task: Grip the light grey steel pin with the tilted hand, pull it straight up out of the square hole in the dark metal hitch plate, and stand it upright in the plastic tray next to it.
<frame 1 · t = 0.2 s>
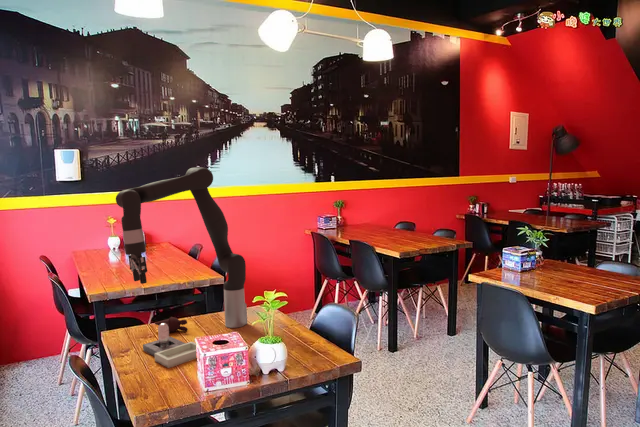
hand: (140, 282, 185), 28 cm above the table, tool pointing down, fingers open, 8 cm apart
hitch plate: (164, 349, 190), on the table
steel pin: (164, 350, 190), resting in hitch plate
tray: (180, 357, 182), on the table
brown lobed piece: (171, 332, 212), on the table
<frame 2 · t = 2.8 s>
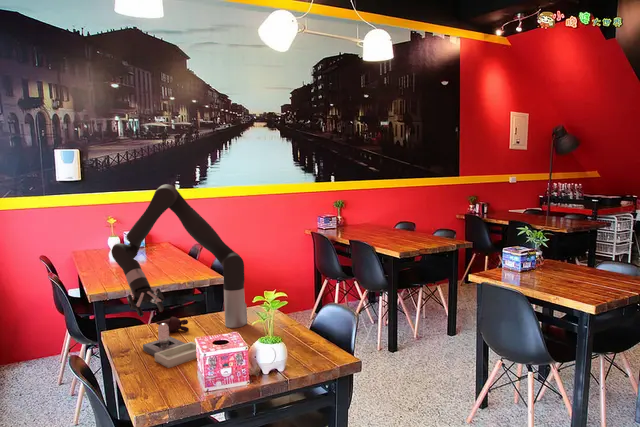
hand: (152, 313, 195), 13 cm above the table, tool tilted 45°, fingers open, 8 cm apart
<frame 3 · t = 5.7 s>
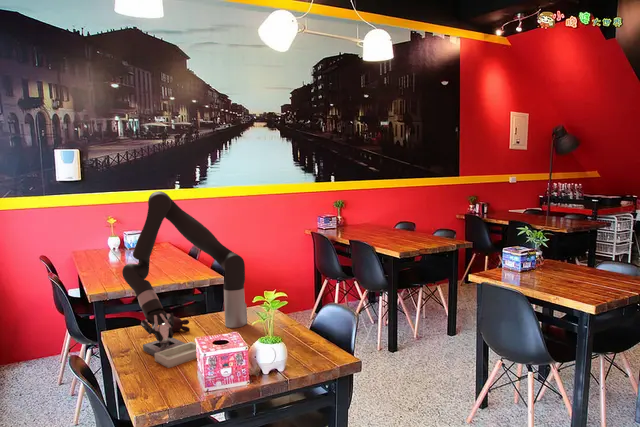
hand: (166, 338, 189), 5 cm above the table, tool tilted 45°, fingers closed on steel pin, 4 cm apart
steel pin: (164, 349, 190), resting in hitch plate, touching gripper
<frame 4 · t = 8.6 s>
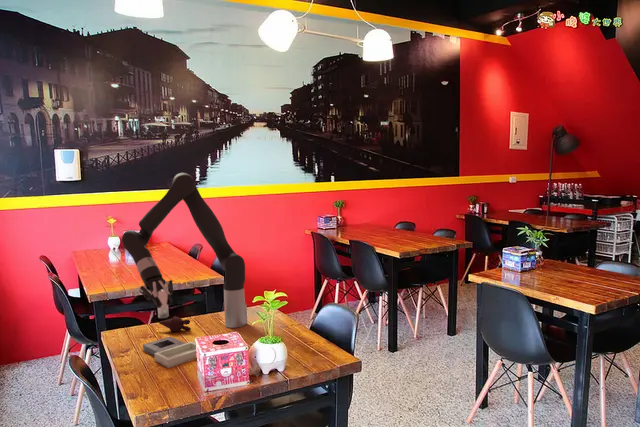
hand: (165, 305, 187), 19 cm above the table, tool tilted 45°, fingers closed on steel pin, 4 cm apart
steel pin: (163, 316, 189), point 14 cm above the table, touching gripper
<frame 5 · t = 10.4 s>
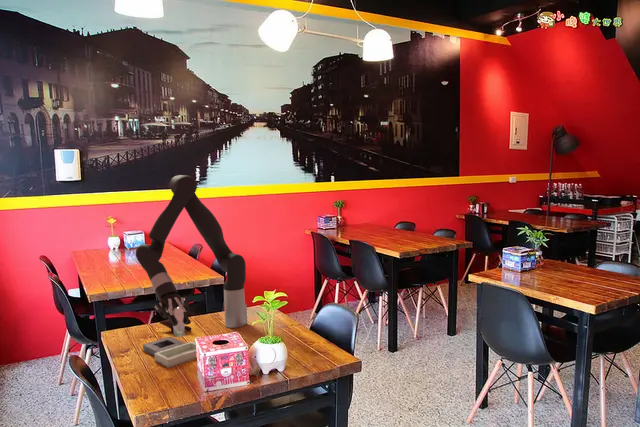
hand: (181, 323, 179), 14 cm above the table, tool tilted 45°, fingers closed on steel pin, 4 cm apart
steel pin: (179, 335, 181), point 9 cm above the table, touching gripper
when the fingers open (7 cm above the table, at t = 11.9 s): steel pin drops 1 cm, resting on tray.
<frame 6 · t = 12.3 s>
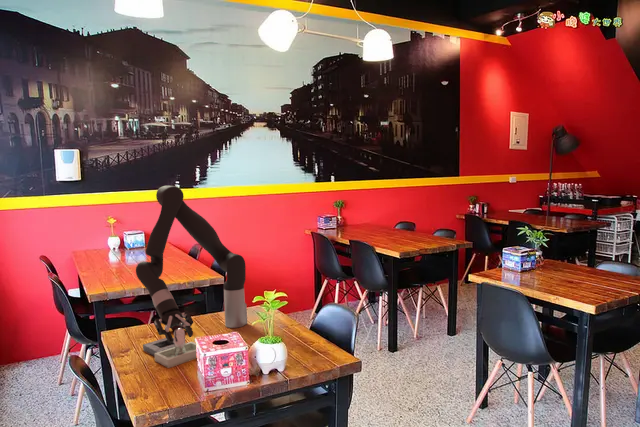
hand: (181, 338, 180), 8 cm above the table, tool tilted 45°, fingers open, 7 cm apart
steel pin: (180, 355, 182), point 1 cm above the table, touching tray
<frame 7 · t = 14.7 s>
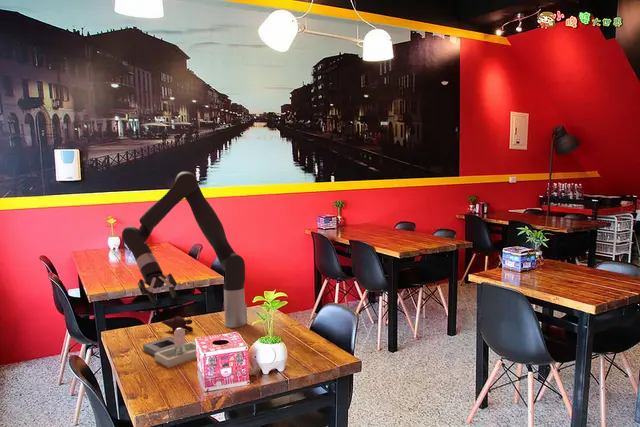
hand: (164, 298, 187), 21 cm above the table, tool tilted 45°, fingers open, 8 cm apart
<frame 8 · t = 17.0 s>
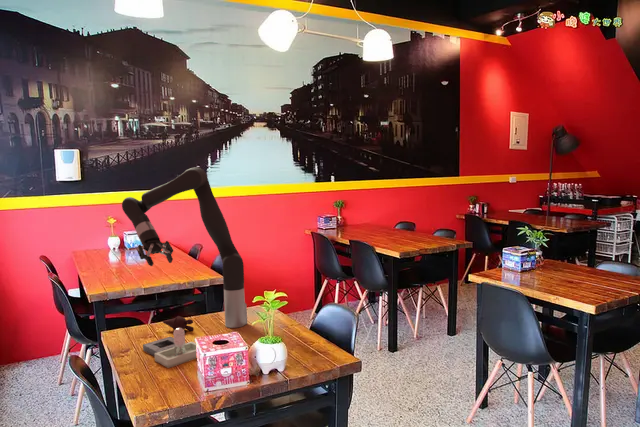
hand: (161, 263, 200), 33 cm above the table, tool tilted 45°, fingers open, 8 cm apart
at the end: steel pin inside the target area on the tray (0.1 cm from its centre), point 0.8 cm above the tray's base; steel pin tilted 1°; the gripper is holding nothing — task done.
